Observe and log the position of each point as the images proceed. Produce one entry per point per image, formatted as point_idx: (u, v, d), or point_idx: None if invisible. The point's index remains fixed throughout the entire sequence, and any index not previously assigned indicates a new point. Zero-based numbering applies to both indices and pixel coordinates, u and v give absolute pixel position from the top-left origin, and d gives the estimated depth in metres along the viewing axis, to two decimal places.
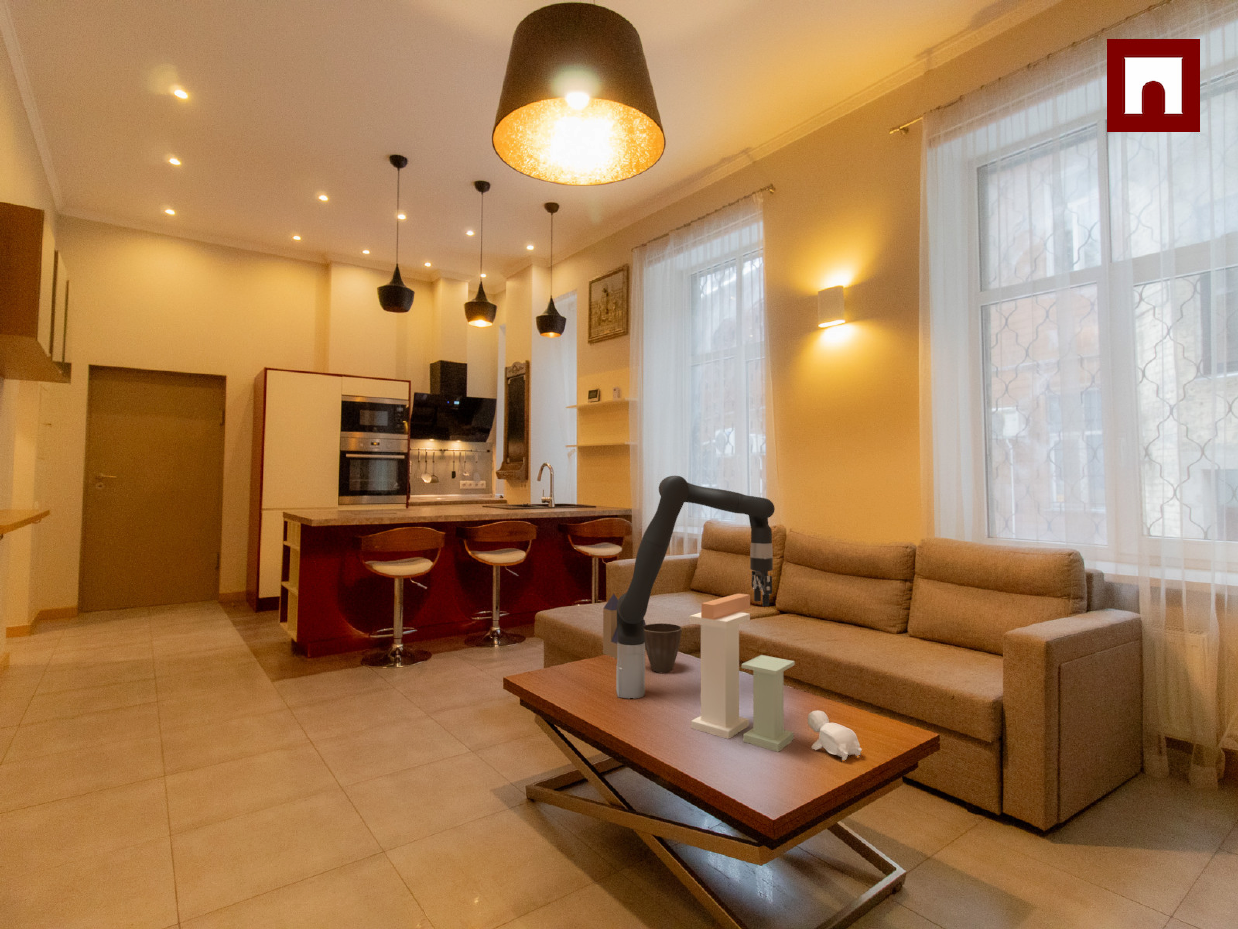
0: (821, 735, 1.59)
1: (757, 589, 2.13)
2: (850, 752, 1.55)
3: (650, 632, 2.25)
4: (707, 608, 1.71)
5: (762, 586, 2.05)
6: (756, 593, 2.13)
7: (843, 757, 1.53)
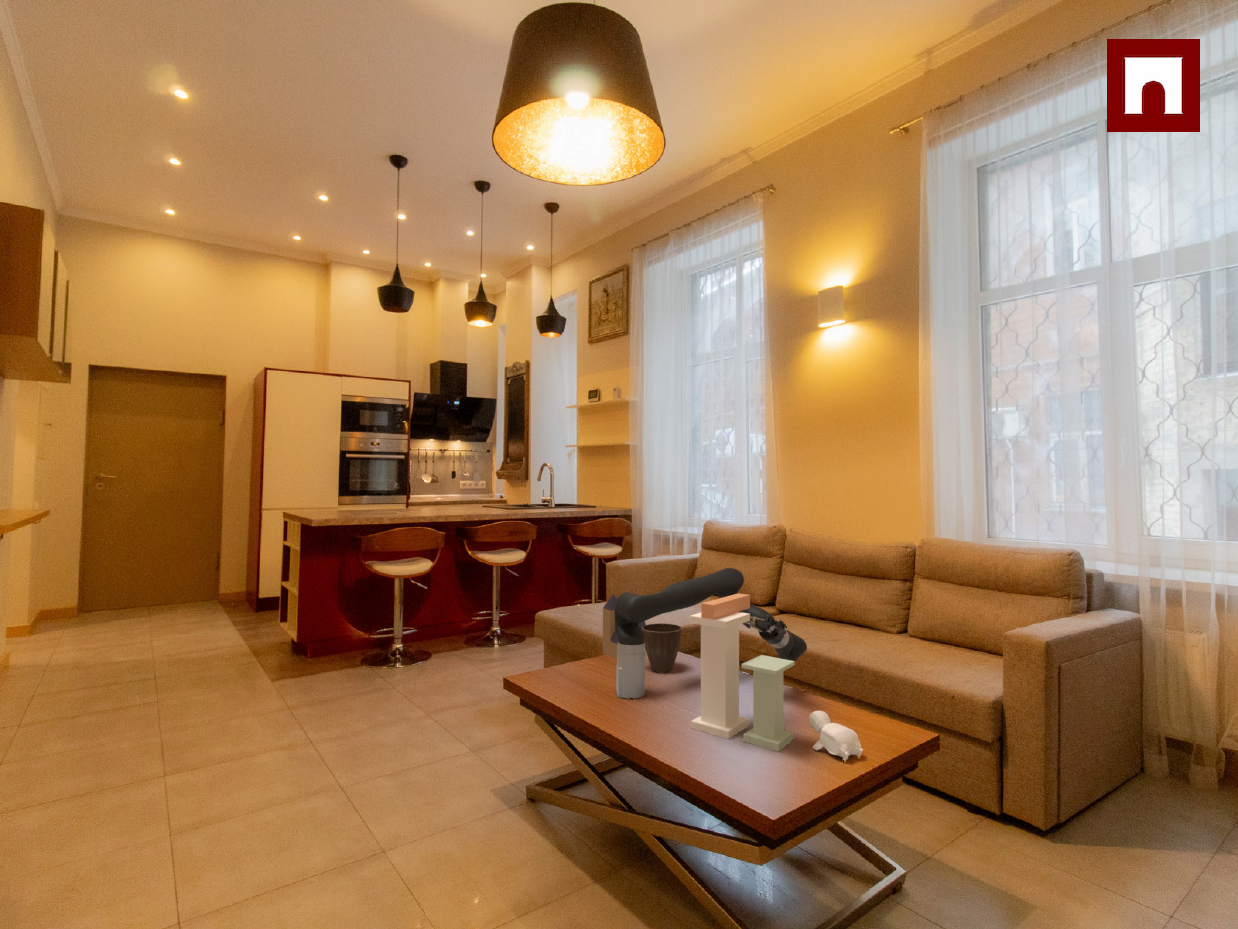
0: (822, 736, 1.58)
1: None
2: (851, 752, 1.54)
3: (650, 632, 2.25)
4: (707, 608, 1.71)
5: None
6: None
7: (844, 757, 1.52)
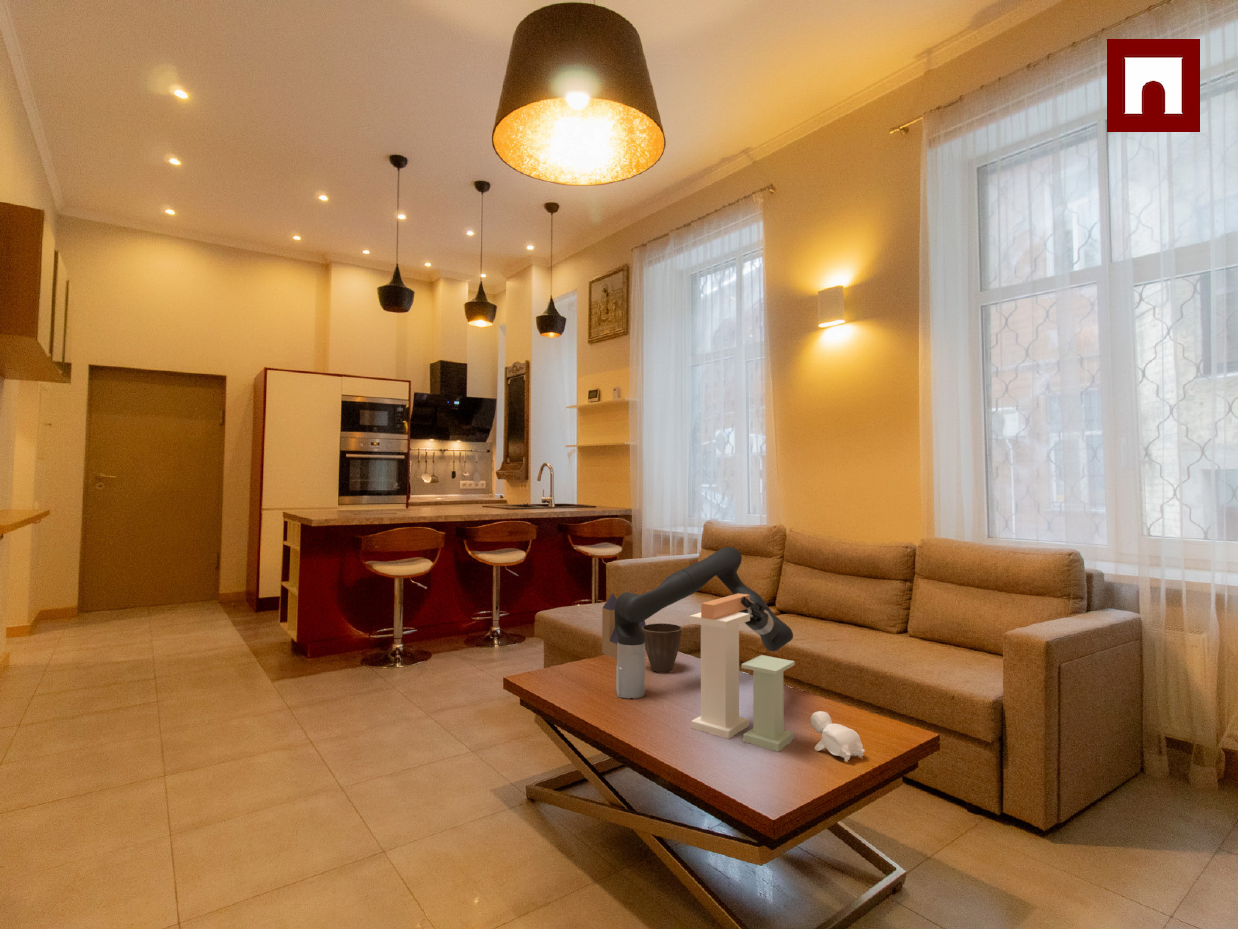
0: (824, 736, 1.58)
1: None
2: (853, 753, 1.54)
3: (650, 632, 2.25)
4: (707, 608, 1.71)
5: None
6: None
7: (846, 758, 1.52)
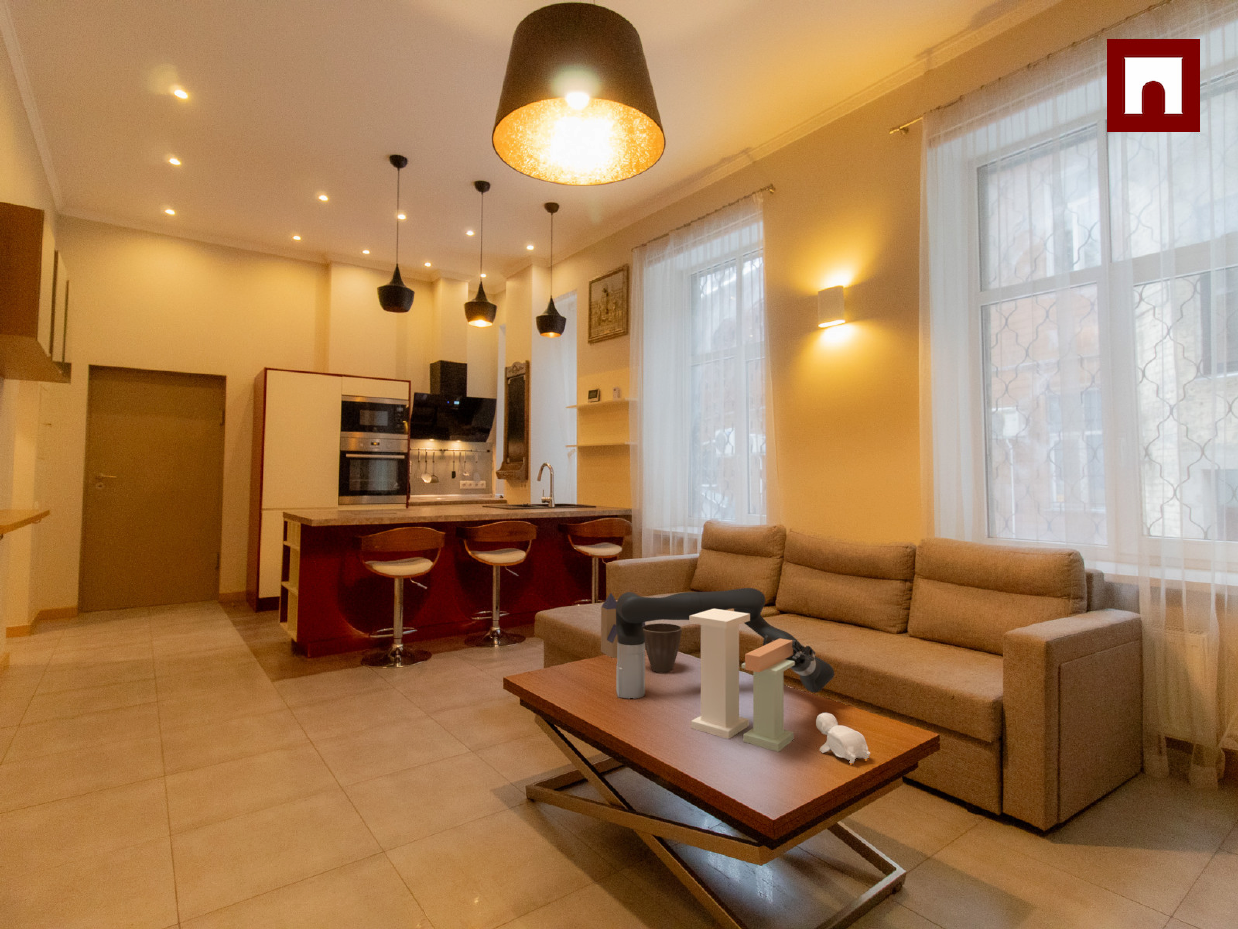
0: (829, 738, 1.57)
1: None
2: (858, 755, 1.53)
3: (650, 632, 2.25)
4: (751, 660, 1.59)
5: None
6: (770, 640, 1.77)
7: (850, 760, 1.51)
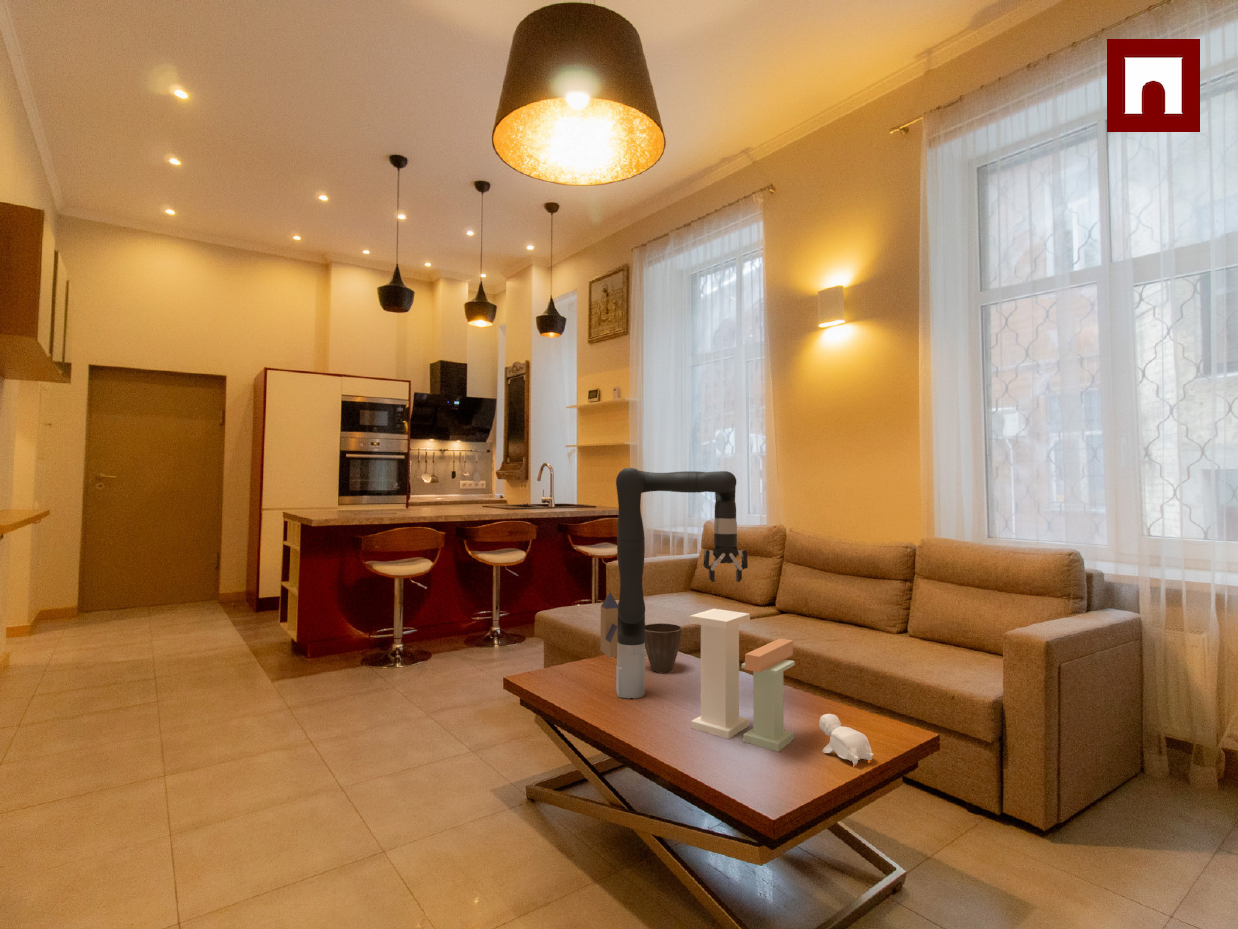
0: (832, 739, 1.56)
1: None
2: (861, 757, 1.52)
3: (650, 632, 2.25)
4: (751, 660, 1.59)
5: (738, 562, 1.99)
6: None
7: (853, 762, 1.50)
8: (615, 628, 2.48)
